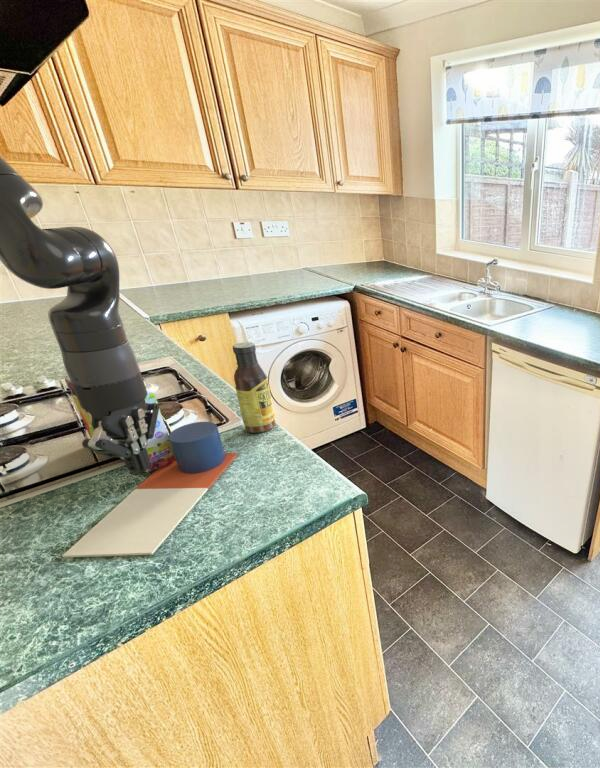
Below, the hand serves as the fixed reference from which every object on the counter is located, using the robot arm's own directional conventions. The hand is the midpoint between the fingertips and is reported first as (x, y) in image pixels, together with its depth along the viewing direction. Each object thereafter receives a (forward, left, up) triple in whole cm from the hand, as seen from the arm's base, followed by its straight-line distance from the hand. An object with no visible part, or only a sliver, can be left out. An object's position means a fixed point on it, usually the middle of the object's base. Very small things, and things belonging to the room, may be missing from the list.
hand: (140, 469), depth 68 cm
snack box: (-14, +16, -8) cm, 23 cm away
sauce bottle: (+6, +26, -8) cm, 28 cm away
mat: (0, +2, -8) cm, 8 cm away
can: (+1, +12, -7) cm, 14 cm away
